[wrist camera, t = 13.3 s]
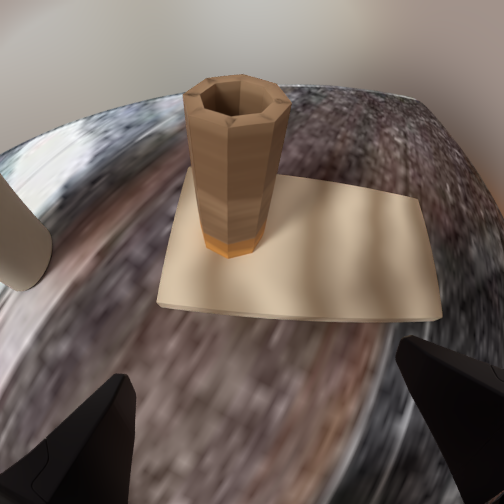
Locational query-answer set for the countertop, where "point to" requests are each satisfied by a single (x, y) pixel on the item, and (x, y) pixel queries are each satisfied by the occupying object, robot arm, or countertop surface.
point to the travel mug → (21, 242)
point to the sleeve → (235, 157)
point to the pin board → (310, 259)
